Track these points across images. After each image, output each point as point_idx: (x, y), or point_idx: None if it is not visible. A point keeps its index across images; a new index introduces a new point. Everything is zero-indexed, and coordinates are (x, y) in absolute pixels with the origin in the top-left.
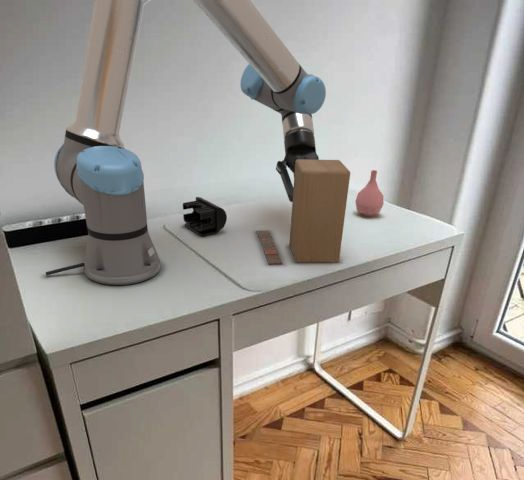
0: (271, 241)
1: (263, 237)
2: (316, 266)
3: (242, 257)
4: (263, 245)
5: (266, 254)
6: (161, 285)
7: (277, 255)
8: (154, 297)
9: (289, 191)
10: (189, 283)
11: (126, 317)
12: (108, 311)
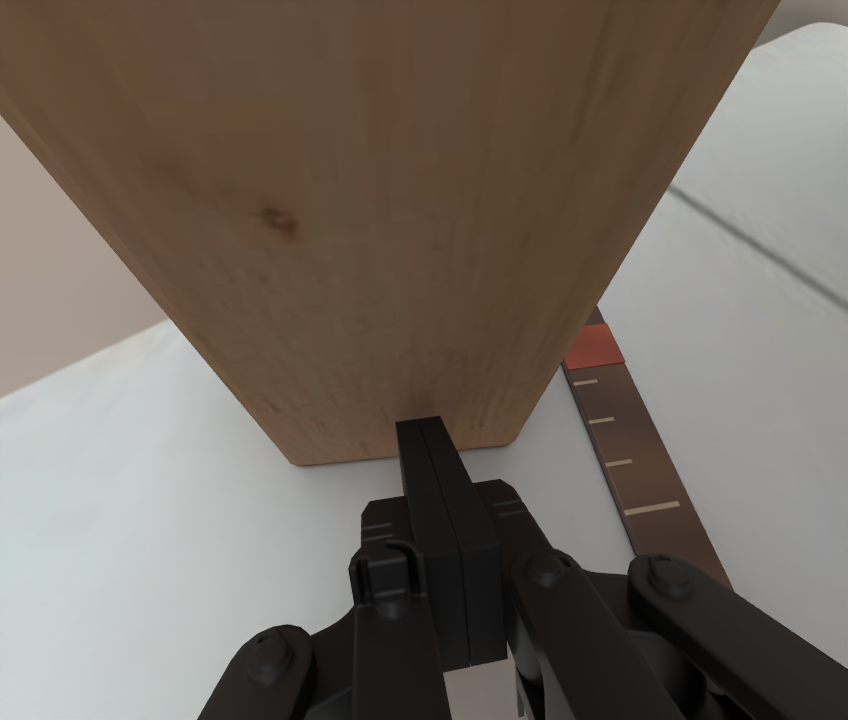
0: (620, 476)
1: (684, 540)
2: None
3: (691, 313)
4: (645, 419)
5: (603, 324)
6: (821, 152)
7: None
8: (794, 115)
9: (772, 627)
10: (759, 162)
11: (790, 69)
12: (840, 80)
